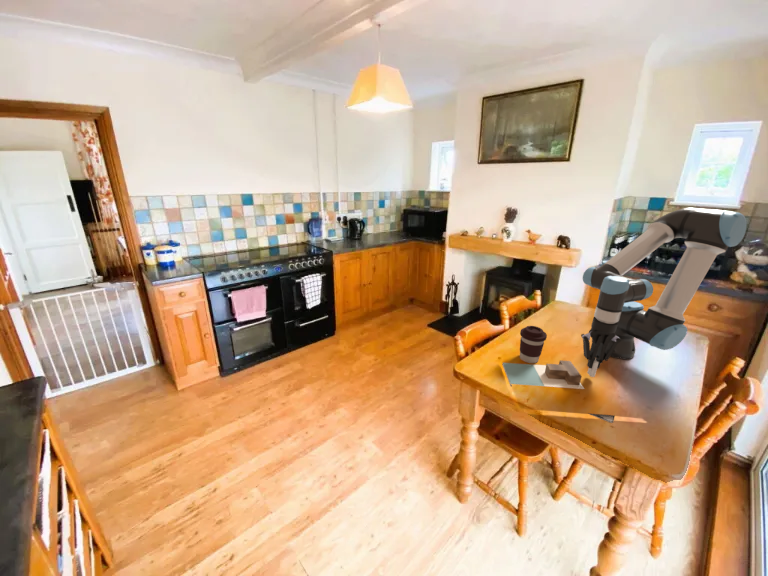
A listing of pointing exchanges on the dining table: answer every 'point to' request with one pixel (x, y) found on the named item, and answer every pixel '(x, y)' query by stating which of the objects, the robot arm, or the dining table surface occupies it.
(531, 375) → the board
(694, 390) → the dining table surface
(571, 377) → the t block
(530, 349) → the coffee cup
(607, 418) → the smartphone
